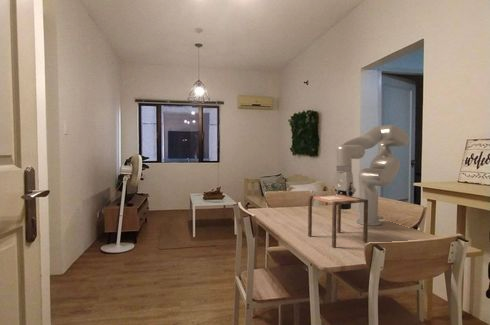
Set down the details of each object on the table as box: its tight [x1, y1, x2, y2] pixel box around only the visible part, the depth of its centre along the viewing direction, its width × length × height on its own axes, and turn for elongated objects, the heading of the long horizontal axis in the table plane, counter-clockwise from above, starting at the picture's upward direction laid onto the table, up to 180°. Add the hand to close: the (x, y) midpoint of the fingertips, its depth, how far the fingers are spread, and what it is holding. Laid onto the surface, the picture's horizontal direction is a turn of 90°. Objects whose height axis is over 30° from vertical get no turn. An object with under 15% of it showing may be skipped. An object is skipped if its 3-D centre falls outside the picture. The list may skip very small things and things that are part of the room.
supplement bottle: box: [337, 190, 352, 210], centre depth 156 cm, size 7×7×12 cm
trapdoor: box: [312, 194, 361, 204], centre depth 137 cm, size 16×15×1 cm
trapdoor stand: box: [307, 193, 369, 249], centre depth 138 cm, size 19×19×20 cm
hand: (344, 202), depth 156 cm, fingers closed on supplement bottle, 6 cm apart
